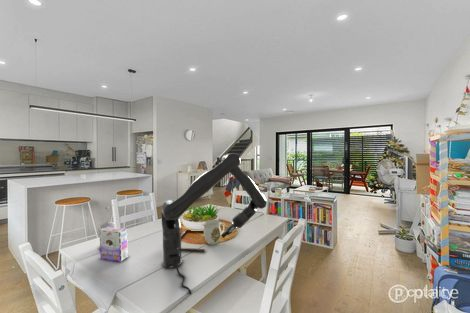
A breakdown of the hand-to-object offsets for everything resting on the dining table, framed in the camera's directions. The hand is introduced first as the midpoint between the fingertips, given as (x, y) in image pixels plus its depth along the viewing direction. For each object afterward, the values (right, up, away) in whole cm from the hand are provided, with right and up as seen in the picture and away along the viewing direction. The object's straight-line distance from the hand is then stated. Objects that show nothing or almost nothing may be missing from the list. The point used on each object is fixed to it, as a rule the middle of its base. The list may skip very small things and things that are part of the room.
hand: (222, 236), depth 140 cm
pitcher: (-6, -4, +1) cm, 7 cm away
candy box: (-59, -5, -19) cm, 62 cm away
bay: (-19, -4, +3) cm, 20 cm away
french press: (-71, -5, -5) cm, 71 cm away
